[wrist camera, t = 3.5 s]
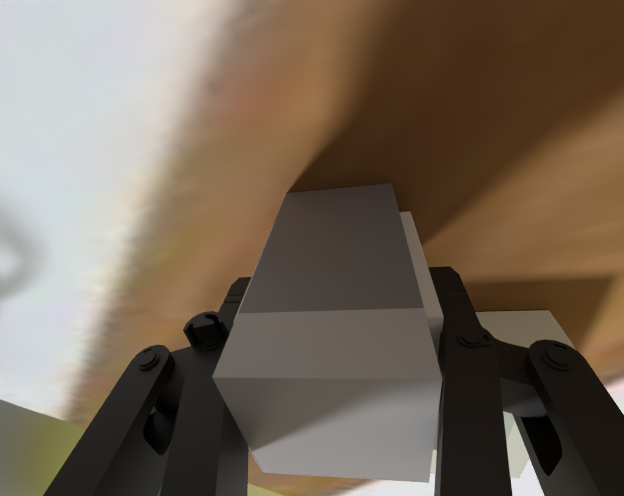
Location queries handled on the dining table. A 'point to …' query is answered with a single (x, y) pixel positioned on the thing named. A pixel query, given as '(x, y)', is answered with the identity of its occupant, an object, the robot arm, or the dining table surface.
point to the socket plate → (520, 332)
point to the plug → (335, 344)
